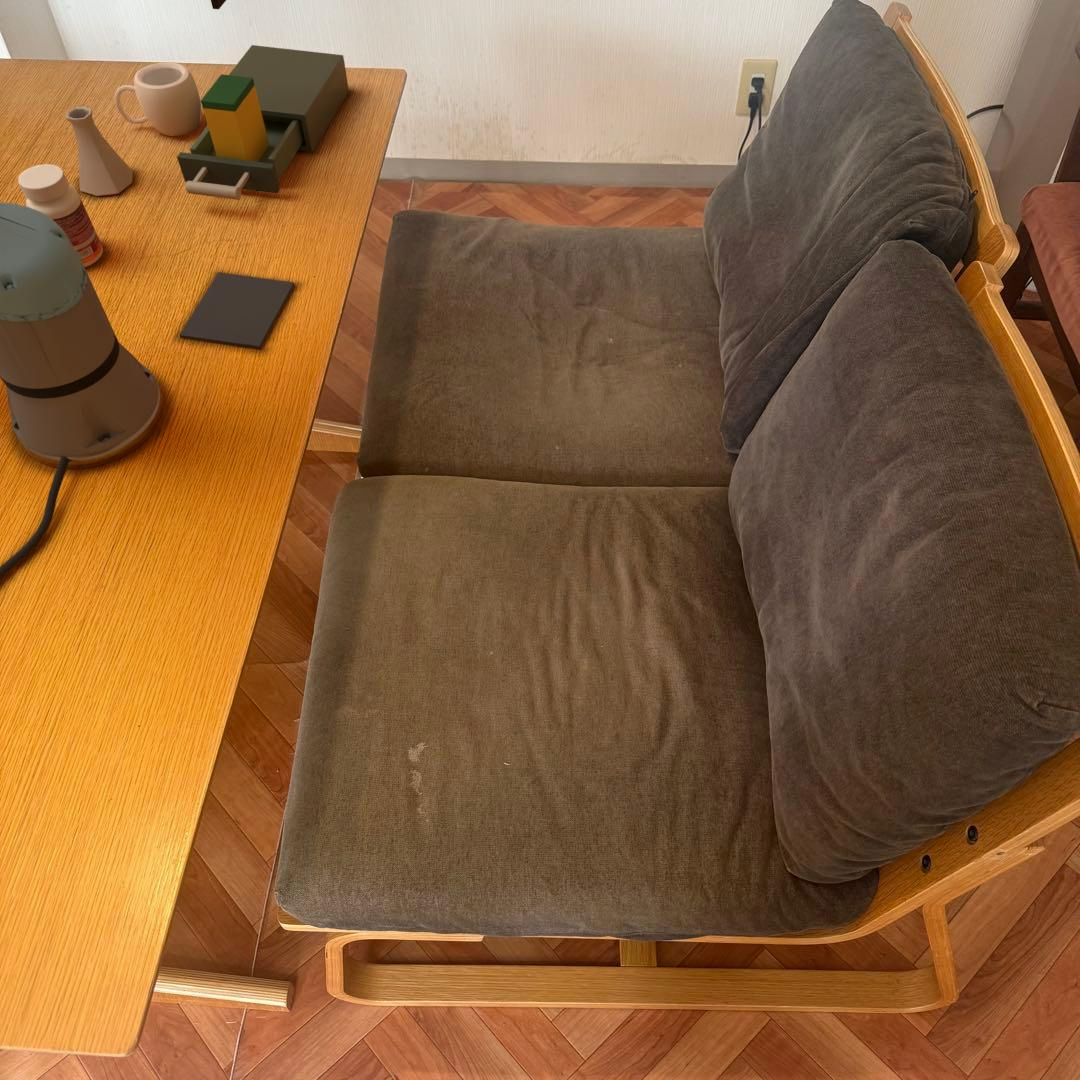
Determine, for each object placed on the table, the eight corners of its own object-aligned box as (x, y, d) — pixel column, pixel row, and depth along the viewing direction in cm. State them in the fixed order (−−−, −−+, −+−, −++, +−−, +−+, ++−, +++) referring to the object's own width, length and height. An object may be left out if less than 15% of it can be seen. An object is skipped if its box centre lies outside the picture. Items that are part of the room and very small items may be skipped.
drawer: (264, 216, 119) (257, 190, 116) (169, 204, 120) (159, 178, 117) (316, 130, 132) (311, 105, 128) (230, 120, 133) (223, 94, 130)
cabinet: (312, 152, 130) (304, 115, 125) (217, 140, 131) (206, 103, 127) (349, 91, 140) (343, 54, 135) (260, 81, 141) (251, 44, 137)
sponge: (251, 172, 123) (233, 104, 115) (220, 168, 123) (200, 100, 116) (269, 145, 127) (253, 77, 119) (239, 141, 127) (221, 74, 120)
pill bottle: (109, 241, 117) (74, 160, 108) (97, 271, 113) (59, 190, 104) (61, 241, 116) (22, 161, 107) (47, 271, 113) (6, 190, 104)
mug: (210, 110, 136) (194, 57, 130) (204, 141, 131) (188, 87, 125) (129, 114, 135) (109, 61, 128) (120, 145, 130) (100, 91, 124)
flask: (142, 169, 126) (116, 100, 118) (123, 199, 122) (94, 129, 114) (92, 166, 127) (63, 96, 119) (71, 195, 122) (39, 125, 114)
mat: (260, 349, 105) (259, 346, 105) (180, 337, 106) (178, 334, 106) (294, 285, 112) (294, 282, 112) (219, 275, 113) (218, 272, 113)
